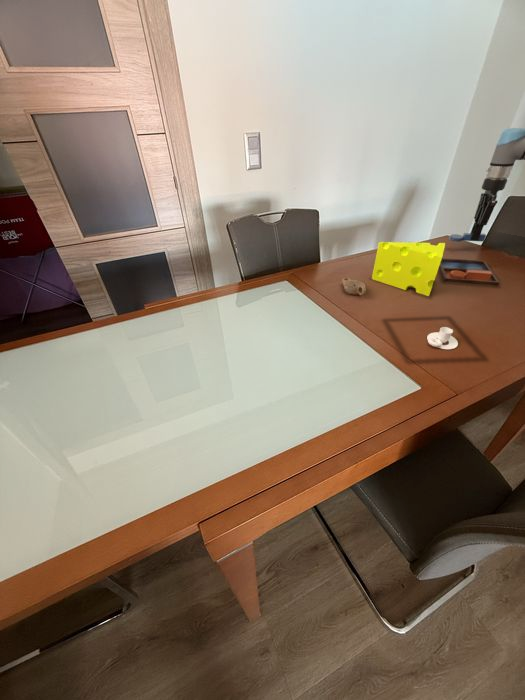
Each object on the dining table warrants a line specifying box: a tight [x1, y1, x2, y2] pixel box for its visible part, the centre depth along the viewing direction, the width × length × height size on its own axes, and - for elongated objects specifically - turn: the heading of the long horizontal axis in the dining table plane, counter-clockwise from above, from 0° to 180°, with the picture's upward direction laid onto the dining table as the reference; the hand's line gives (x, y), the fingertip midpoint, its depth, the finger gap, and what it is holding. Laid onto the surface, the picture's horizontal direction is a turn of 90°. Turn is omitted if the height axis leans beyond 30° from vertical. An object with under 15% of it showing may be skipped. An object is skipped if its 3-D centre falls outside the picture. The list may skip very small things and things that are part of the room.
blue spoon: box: [448, 232, 487, 243], centre depth 131 cm, size 13×5×3 cm, turn 74°
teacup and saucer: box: [426, 326, 459, 350], centre depth 86 cm, size 9×8×4 cm
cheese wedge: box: [371, 241, 446, 297], centre depth 109 cm, size 19×20×15 cm
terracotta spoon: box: [449, 270, 492, 280], centre depth 114 cm, size 13×5×3 cm, turn 74°
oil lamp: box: [341, 277, 367, 296], centre depth 110 cm, size 13×8×5 cm, turn 14°
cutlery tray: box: [438, 257, 500, 287], centre depth 118 cm, size 18×19×2 cm
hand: (473, 239), depth 131 cm, fingers closed on blue spoon, 2 cm apart
